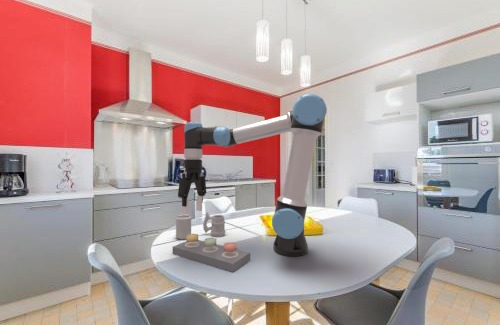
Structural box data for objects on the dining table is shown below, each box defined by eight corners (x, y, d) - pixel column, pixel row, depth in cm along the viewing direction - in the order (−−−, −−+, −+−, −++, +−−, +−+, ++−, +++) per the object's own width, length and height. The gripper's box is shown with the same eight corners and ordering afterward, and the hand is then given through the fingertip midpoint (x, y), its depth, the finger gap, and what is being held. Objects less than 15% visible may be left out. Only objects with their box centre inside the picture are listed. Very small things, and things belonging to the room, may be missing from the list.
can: (183, 241, 115) (183, 216, 115) (172, 238, 119) (172, 214, 119) (194, 237, 121) (194, 213, 121) (184, 234, 125) (184, 211, 125)
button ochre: (200, 239, 103) (200, 235, 103) (192, 242, 99) (192, 238, 98) (192, 237, 105) (192, 233, 105) (184, 240, 101) (184, 236, 101)
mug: (224, 237, 122) (225, 214, 122) (201, 237, 121) (201, 213, 121) (225, 232, 129) (226, 210, 129) (204, 232, 129) (204, 210, 129)
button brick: (239, 248, 92) (239, 243, 92) (231, 253, 88) (231, 247, 88) (228, 246, 95) (228, 241, 95) (221, 250, 91) (221, 245, 91)
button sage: (219, 244, 98) (219, 239, 98) (211, 247, 93) (211, 242, 93) (209, 241, 100) (209, 237, 100) (201, 245, 96) (201, 240, 96)
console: (250, 260, 94) (250, 252, 94) (232, 272, 84) (232, 263, 84) (193, 245, 110) (193, 238, 110) (172, 253, 100) (172, 246, 100)
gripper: (202, 159, 112) (202, 207, 112) (168, 158, 95) (167, 215, 95) (215, 159, 108) (214, 209, 109) (181, 158, 91) (181, 218, 91)
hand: (192, 212), depth 102 cm, fingers open, 7 cm apart
